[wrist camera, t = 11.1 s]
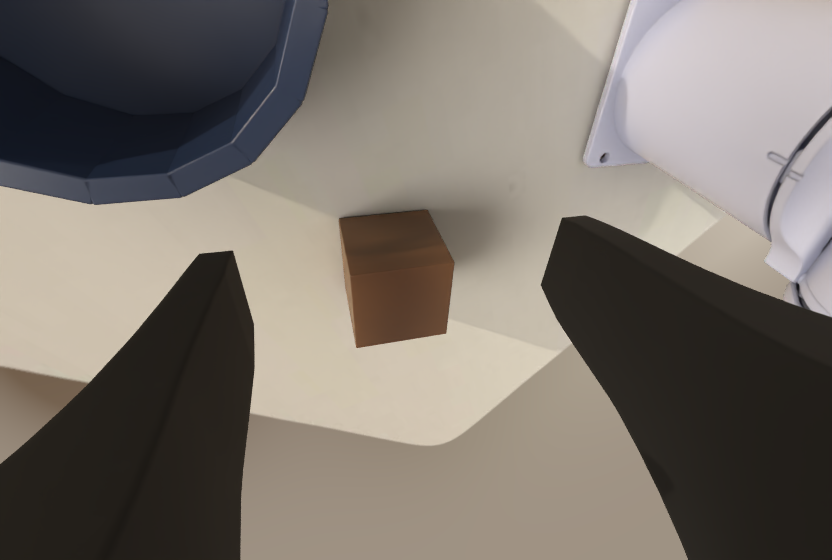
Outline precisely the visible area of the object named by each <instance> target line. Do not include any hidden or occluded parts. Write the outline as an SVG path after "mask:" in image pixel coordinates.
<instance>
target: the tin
mask: <svg viewBox="0 0 832 560" xmlns="http://www.w3.org/2000/svg"><path fill="white" fill-rule="evenodd" d="M327 14H328V0H0V186H4V187H9V188H14V189H19V190H24V191H29V192H33V193H38V194H43V195H48V196H53V197H58V198H63V199H67V200H72V201H77V202H82V203H87V204H94V205H99V204H111V203H123V202H135V201H147V200H159V199H171V198H181V197H182V196H183V197H185V196H187V195H189V194H191V193H193V192H195V191H197V190H199V189H201V188H203V187H206V186H208V185H210V184H212V183H214V182H216V181H218V180H220V179H222V178H224V177H226V176H228V175H230V174H232V173H235V172H237V171H239V170H241V169H243V168H245V167H247V166H249V165H251V164H252V163H253V162H255V161H256V160H257V158H258V157H259V156H260V155H261V153H262V152H263V151H264V150H265V149H266V147H267V146H268V145H269V144H270V142H271V141H272V140H273V139H274V138H275V136H276V135H277V134H278V133H279V132H280V130H281V129H282V128H283V127H284V125H285V124H286V123H287V122H288V121H289V119H290V118H291V117H292V116H293V114H294V113H295V112H296V111H297V110H298V108H299V107H300V106H301V105H302V101H304V99H305V95H306V92H307V88H308V84H309V81H310V77H311V73H312V70H313V66H314V62H315V58H316V55H317V51H318V47H319V44H320V40H321V36H322V33H323V29H324V25H325V22H326V18H327Z"/></svg>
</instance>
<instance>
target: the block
mask: <svg viewBox="0 0 832 560" xmlns="http://www.w3.org/2000/svg"><path fill="white" fill-rule="evenodd" d="M339 228H340V238H341V248H342V258H343V268H344V278H345V288H346V293H347V299H348V304H349V310H350V316H351V321H352V327H353V332H354V338H355V344H356V348H360V347H366V346H372V345H378V344H385V343H391V342H397V341H403V340H409V339H415V338H421V337H428V336H434V335H440V334H446V330H447V322H448V313H449V305H450V296H451V287H452V279H453V270H454V261H453V259H452V257H451V255H450V253H449V251H448V249H447V247H446V245H445V243H444V241H443V239H442V237H441V235H440V233H439V232H438V230H437V228H436V226H435V224H434V222H433V220H432V218H431V216H430V214H429V212H428V210H420V211H410V212H400V213H390V214H380V215H370V216H360V217H350V218H340V219H339Z"/></svg>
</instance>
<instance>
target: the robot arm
mask: <svg viewBox="0 0 832 560" xmlns="http://www.w3.org/2000/svg"><path fill="white" fill-rule="evenodd" d="M604 153H605V155H604V157H603V158H602V159H600V158H601V156H602V155H603V154H604ZM583 162H584V163H585V164H586V165H587V166H588V167H591V168H595V167H607V166H618V165H630V164H642V163H651V164H653V165H655V166H656V167H658V168H659V169H661V170H662V171H664V172H665V173H667V174H668V175H670V176H671V177H673V178H674V179H676V180H677V181H679V182H680V183H682V184H684V185H685V186H687V187H688V188H690V189H691V190H693V191H694V192H696V193H697V194H699V195H700V196H702V197H703V198H705V199H706V200H708V201H709V202H711V203H712V204H714V205H716V206H717V207H719V208H720V209H722V210H723V211H725V212H726V213H728V214H729V215H731V216H732V217H734V218H736V219H737V220H738V221H740V222H741V223H743V224H745V225H746V226H748V227H749V228H751V229H752V230H754V231H755V232H757V233H758V234H760V235H761V236H763V237H764V238H766V239H767V240H769V241H770V242H772V244H771V247H770V250H769V253H768V254H767V256H766V258H765V260H764V262H765V263H766V264H767V265H769V266H770V267H772V268H773V269H775V270H776V271H777V272H779V273H780V274H782V275H783V276H785V277H786V278H787V279H789V280H790V282H789V283H788V284H787V286H786V289H785V292H784V301H783V300H780V299H777V298H775V297H772V296H769V295H766V294H763V293H761V292H758V291H756V290H753V289H751V288H748V287H745V286H743V285H740V284H738V283H736V282H733V281H731V280H729V279H726V278H724V277H722V276H719V275H717V274H715V273H712V272H710V271H707V270H705V269H703V268H701V267H699V266H696V265H694V264H692V263H690V262H688V261H685V260H683V259H681V258H679V257H677V256H675V255H673V254H670V253H668V252H666V251H664V250H662V249H660V248H658V247H656V246H654V245H651V244H649V243H647V242H645V241H643V240H641V239H639V238H637V237H635V236H632V235H630V234H628V233H626V232H624V231H622V230H620V229H617V228H615V227H613V226H611V225H608V224H606V223H604V222H601V221H599V220H596V219H594V218H591V217H588V216H576V217H566V218H562V220H561V223H560V226H559V229H558V232H557V235H556V239H555V242H554V245H553V248H552V251H551V254H550V258H549V261H548V264H547V267H546V270H545V273H544V277H543V280H542V283H541V286H542V289H543V291H544V293H545V295H546V298H547V300H548V302H549V304H550V306H551V308H552V310H553V312H554V314H555V316H556V318H557V320H558V322H559V323H560V325H561V326H562V328H563V330H564V331H565V333H566V334H567V336H568V337H569V339H570V340H571V342H572V343H573V345H574V346H575V348H576V349H577V351H578V352H579V354H580V355H581V356H582V358H583V359H584V361H585V362H586V364H587V365H588V367H589V368H590V370H591V371H592V373H593V374H594V376H595V377H596V379H597V380H598V382H599V383H600V385H601V386H602V387H603V389H604V390H605V392H606V393H607V395H608V396H609V398H610V400H611V401H612V403H613V405H614V406H615V407H616V409H617V411H618V413H619V414H620V416H621V418H622V420H623V422H624V423H625V426H626V428H627V429H628V431H629V433H630V435H631V437H632V439H633V441H634V443H635V444H636V446H637V448H638V450H639V452H640V454H641V456H642V458H643V460H644V462H645V464H646V466H647V468H648V470H649V472H650V474H651V476H652V479H653V480H654V483H655V484H656V487H657V488H658V491H659V493H660V495H661V497H662V500H663V502H664V504H665V506H666V508H667V511H668V513H669V515H670V518H671V520H672V522H673V524H674V526H675V529H676V531H677V533H678V536H679V538H680V540H681V543H682V545H683V548H684V550H685V553H686V555H687V558H688V560H832V0H631V1H630V4H629V7H628V11H627V14H626V17H625V20H624V24H623V27H622V30H621V34H620V37H619V40H618V43H617V47H616V50H615V53H614V57H613V60H612V63H611V66H610V70H609V73H608V76H607V80H606V83H605V86H604V90H603V93H602V96H601V99H600V103H599V106H598V109H597V113H596V116H595V119H594V122H593V126H592V129H591V132H590V136H589V139H588V142H587V146H586V149H585V152H584V155H583ZM253 378H254V323H253V320H252V316H251V313H250V309H249V306H248V302H247V299H246V295H245V292H244V288H243V285H242V281H241V277H240V274H239V270H238V267H237V263H236V260H235V256H234V253H233V251H224V252H214V253H204V254H199V255H198V256H197V257H196V258H195V260H194V261H193V262H192V263H191V264H190V266H189V267H188V268H187V269H186V271H185V272H184V273H183V275H182V276H181V277H180V278H179V280H178V281H177V282H176V284H175V285H174V286H173V287H172V289H171V290H170V291H169V292H168V294H167V295H166V296H165V297H164V299H163V300H162V301H161V302H160V304H159V305H158V306H157V307H156V309H155V310H154V311H153V312H152V313H151V314H150V316H149V317H148V318H147V319H146V320H145V322H144V323H143V324H142V325H141V326H140V328H139V329H138V330H137V331H136V332H135V334H134V335H133V336H132V337H131V338H130V339H129V340H128V342H127V343H126V344H125V345H124V346H123V347H122V348H121V349H120V350H119V351H118V352H117V354H116V355H115V356H114V357H113V358H112V359H111V360H110V361H109V362H108V363H107V364H106V366H105V367H104V368H103V369H102V370H101V371H100V372H99V373H98V374H97V375H96V376H95V377H94V378H93V379H92V381H91V382H90V383H89V384H88V385H87V386H86V387H85V388H84V389H83V390H82V391H81V392H80V393H79V394H78V395H77V396H75V397H74V398H73V399H72V400H71V401H70V402H69V403H68V404H67V405H66V406H65V407H64V408H63V409H62V410H61V411H60V412H59V413H58V414H56V415H55V416H54V417H53V418H52V419H51V420H50V421H49V422H48V423H47V424H46V425H45V426H44V427H42V429H40V430H39V431H38V432H37V433H36V434H35V435H34V436H33V437H31V438H30V439H29V440H28V441H27V442H26V443H25V444H24V445H22V446H21V447H20V448H19V449H18V450H17V451H16V452H14V453H13V454H12V455H11V456H10V457H8V458H7V459H6V460H5V461H3V462H2V463H1V464H0V560H240V535H241V534H240V533H241V490H242V476H243V465H244V457H245V448H246V439H247V431H248V422H249V414H250V405H251V396H252V387H253Z"/></svg>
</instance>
